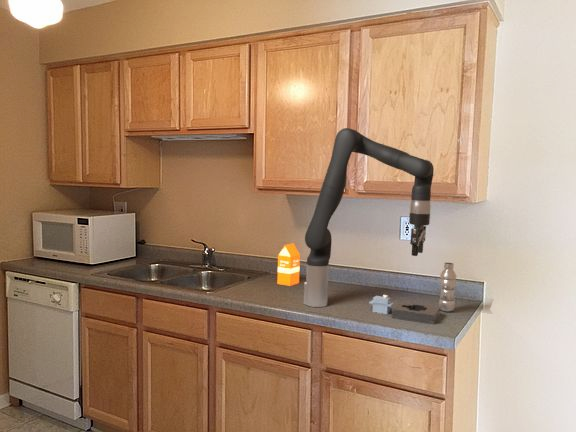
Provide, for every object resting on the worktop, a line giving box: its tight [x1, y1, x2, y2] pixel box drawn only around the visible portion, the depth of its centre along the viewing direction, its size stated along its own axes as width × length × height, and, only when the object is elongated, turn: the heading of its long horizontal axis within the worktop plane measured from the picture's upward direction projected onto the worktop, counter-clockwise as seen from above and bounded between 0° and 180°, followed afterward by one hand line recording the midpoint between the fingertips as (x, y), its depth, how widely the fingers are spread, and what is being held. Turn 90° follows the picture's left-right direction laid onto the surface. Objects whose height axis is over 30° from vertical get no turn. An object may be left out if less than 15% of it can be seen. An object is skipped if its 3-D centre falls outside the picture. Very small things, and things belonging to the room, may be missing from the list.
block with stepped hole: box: [391, 301, 442, 325], centre depth 194 cm, size 16×14×4 cm
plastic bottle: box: [438, 262, 457, 312], centre depth 202 cm, size 6×7×20 cm
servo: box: [368, 294, 395, 315], centre depth 199 cm, size 9×4×7 cm, turn 63°
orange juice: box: [276, 242, 301, 287], centre depth 247 cm, size 8×9×20 cm
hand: (417, 254), depth 188 cm, fingers open, 8 cm apart
